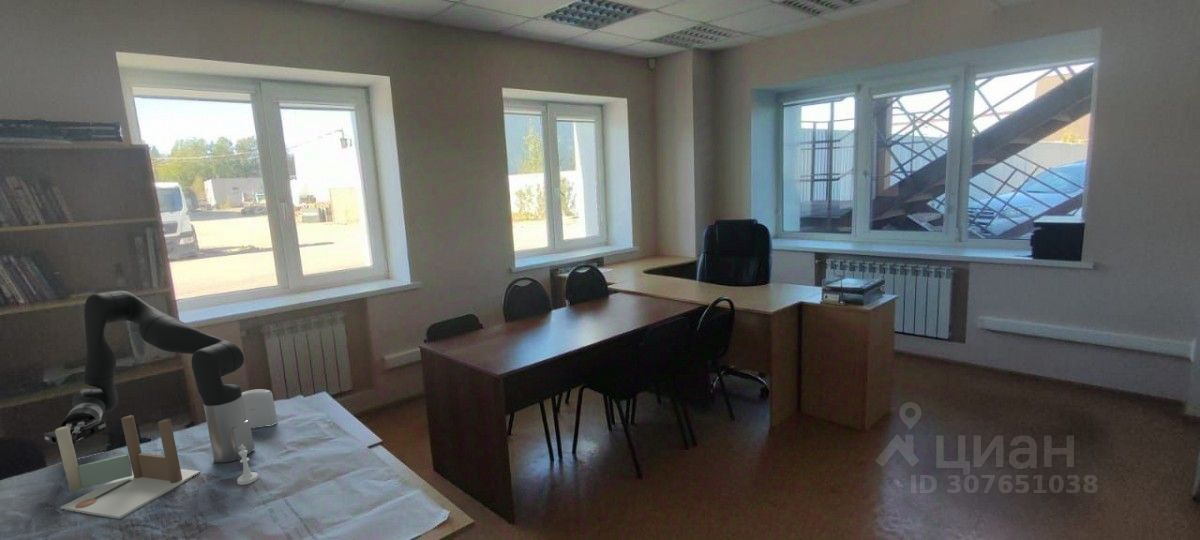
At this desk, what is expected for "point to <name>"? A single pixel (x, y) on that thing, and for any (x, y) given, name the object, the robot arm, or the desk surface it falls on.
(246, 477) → the chess piece
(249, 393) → the photo printer
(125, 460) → the l-shaped bracket
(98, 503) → the white board with posts
